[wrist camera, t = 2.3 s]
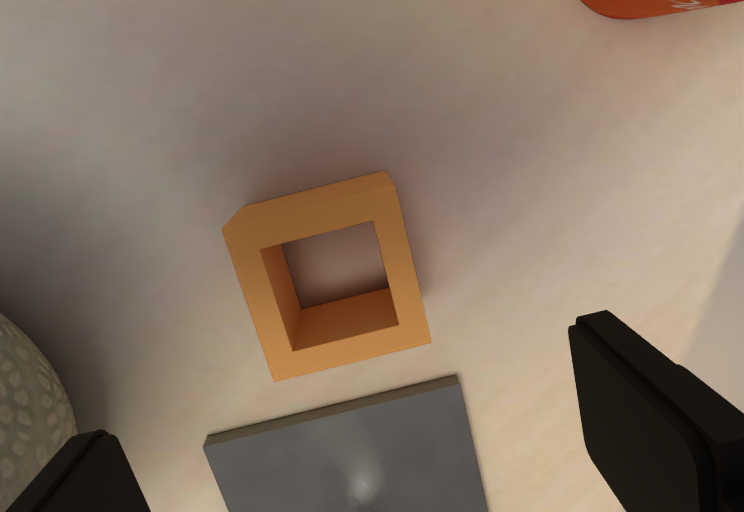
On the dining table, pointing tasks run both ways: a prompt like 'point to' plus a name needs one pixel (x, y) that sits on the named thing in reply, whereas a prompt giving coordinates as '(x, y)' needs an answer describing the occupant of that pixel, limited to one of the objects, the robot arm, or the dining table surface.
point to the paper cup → (648, 7)
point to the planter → (28, 412)
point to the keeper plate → (356, 457)
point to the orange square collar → (338, 318)
